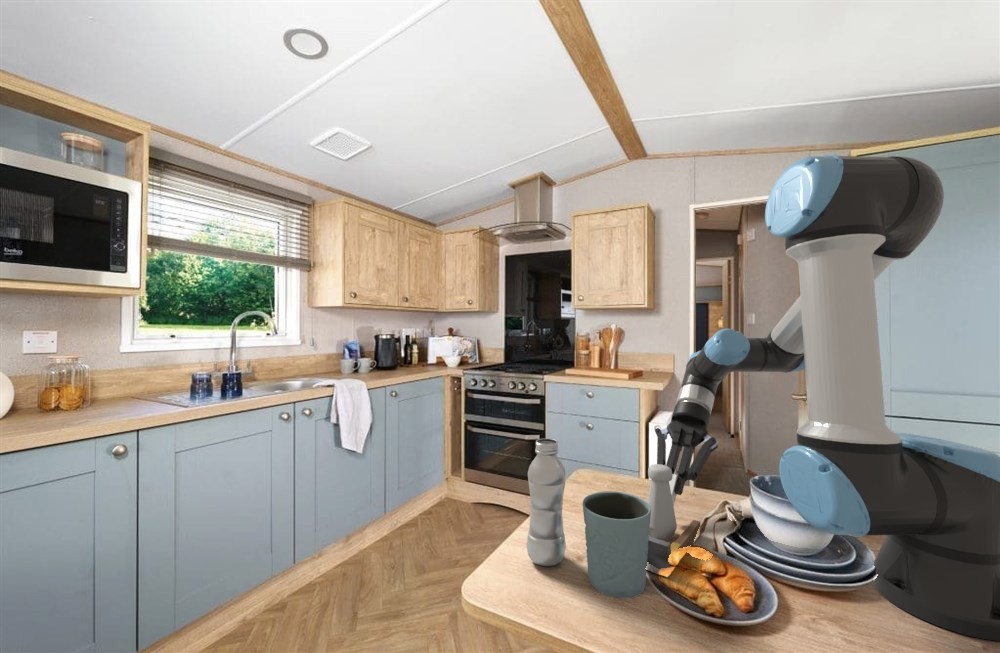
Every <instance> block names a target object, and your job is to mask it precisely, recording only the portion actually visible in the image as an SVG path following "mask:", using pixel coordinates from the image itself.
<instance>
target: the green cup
mask: <svg viewBox="0 0 1000 653" xmlns="http://www.w3.org/2000/svg"><path fill="white" fill-rule="evenodd" d="M647 502H648V501H646V500H645V499H643V498H641V497H639V496H637V495H634V494H630V493H627V492H623V491H616V490H615V491H613V490H609V491H608V490H606V491H598V492H594V493H590V494H588V495H587V496H585V497H584V498H583V499H582V510H583V521H584V524H585V526H584V527H585V528H584V533H585V547H586V558H587V559H586V562H587V577H588V580H589V582H590V584H591V586H592V587H593V588H594V589H595V590H597V591H598V592H599V593H602V594H604V595H606V596H609V597H612V598H616V599H617V598H618V599H632V598H636V597H638V596H640V595H642V594H643V592H644V591H645V588H646V584H647V582H646V581H647V571H646V569H645V568H646V566H647V559H648V556H647V554H648V541H649V537H648V536H650V535H649V527H650V518H651V507H650V505H649V504H648V503H647Z"/></svg>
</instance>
